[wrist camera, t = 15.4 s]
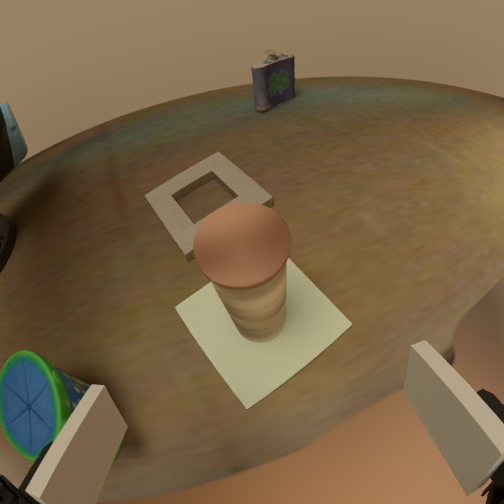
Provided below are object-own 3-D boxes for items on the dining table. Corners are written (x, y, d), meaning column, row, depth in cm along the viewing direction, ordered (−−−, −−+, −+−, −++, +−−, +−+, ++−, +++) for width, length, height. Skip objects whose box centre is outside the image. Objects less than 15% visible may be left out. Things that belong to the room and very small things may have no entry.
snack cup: (36, 409, 23) (-22, 396, 15) (63, 346, 28) (6, 317, 19) (124, 487, 19) (64, 505, 10) (157, 414, 23) (100, 412, 15)
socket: (148, 202, 38) (144, 195, 37) (220, 159, 41) (218, 151, 40) (188, 261, 32) (184, 254, 31) (273, 205, 35) (272, 197, 34)
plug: (222, 314, 28) (177, 236, 16) (264, 283, 29) (250, 189, 17) (254, 355, 26) (228, 305, 14) (298, 321, 27) (311, 244, 15)
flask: (262, 114, 47) (256, 58, 37) (251, 109, 48) (244, 55, 39) (298, 97, 50) (297, 46, 40) (286, 92, 51) (284, 43, 41)
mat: (176, 309, 29) (174, 307, 29) (270, 242, 33) (270, 239, 32) (247, 409, 23) (247, 409, 23) (351, 325, 26) (352, 324, 26)
